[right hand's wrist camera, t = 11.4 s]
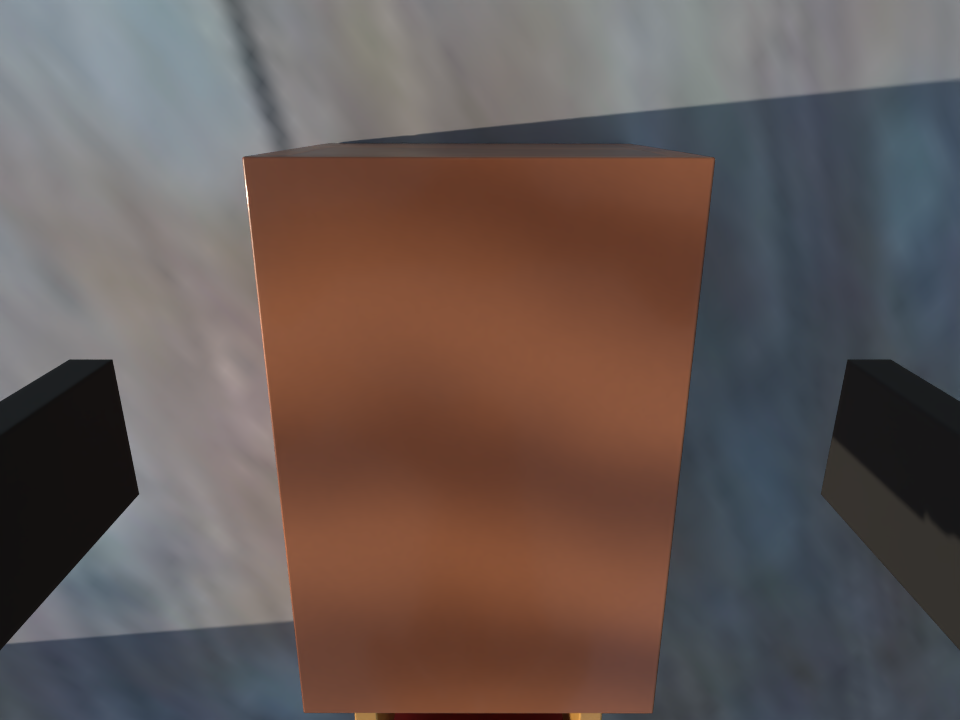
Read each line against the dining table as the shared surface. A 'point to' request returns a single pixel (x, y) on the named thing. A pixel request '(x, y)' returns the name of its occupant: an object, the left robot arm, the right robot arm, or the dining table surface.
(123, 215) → the dining table surface
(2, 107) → the dining table surface
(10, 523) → the right robot arm
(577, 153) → the wooden drawer cabinet
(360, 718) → the drawer
